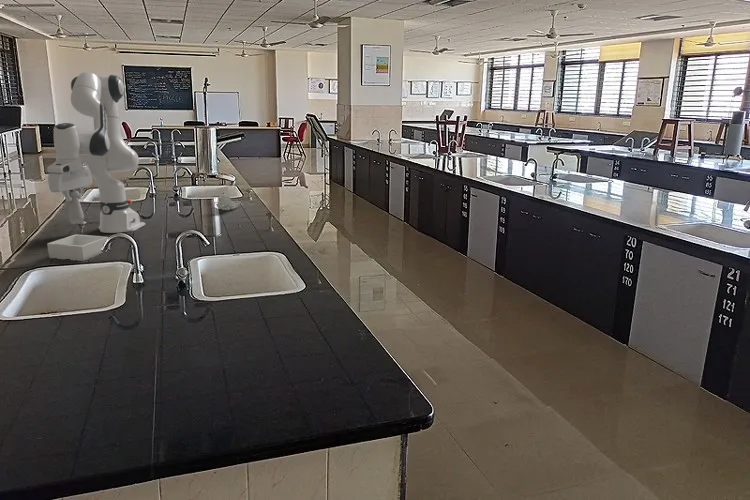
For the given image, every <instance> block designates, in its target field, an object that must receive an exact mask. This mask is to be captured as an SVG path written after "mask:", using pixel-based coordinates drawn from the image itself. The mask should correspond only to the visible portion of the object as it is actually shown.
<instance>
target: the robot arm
mask: <svg viewBox="0 0 750 500" xmlns="http://www.w3.org/2000/svg"><path fill="white" fill-rule="evenodd" d="M124 85H125V84H124V83H123V80H122V78H121V77H120V76H118V75H114V74H110V75H109V74H96V73H93V72H90V71H84V72H81V73H80V74H79V75H77V76H75V77H74V78H72V79H71V82H70V88H71V94H70V102H71V105H72V107H73V108H74V109H75V110H76V111H77V112H78V113H80V114H82V115H84V116H86V117H90V118H93V130H77V127H76V125H75V124H74V123H71V122H70V123H69V122H63V123H62V122H61V123H58V124H55V125H54V127H53V144H54V147H53V148H54V149H55V152H56V155H55V161H54V162H53V163H52V164H50V165H49V166H47V167H46V171H47V173H48V176H47V178H48V179H47V181H48V188H49V190H50V192H51V193H57V194H59V193H62V195H63V196H64V198H65V202H68V203H69V202H70V201H72V197H70V195H69V194H68V193H69V191H74V190H75V191H78V192H79V197H78V199H79V200H81V199H82V194H83V191H84V188H85V187H89V186H92V185H93V179H94V181H95V182H96V184H97V187H98V193H99V198H100V201H99V207H100V210H101V211H100V212H99V226H98V230H99V231H100V232H101V233H104V234H105V233H106V234H108V233H109V234H114V233H115V234H117V233H126V232H127V233H128V232H135V231H137V230H138V229H140V228H142V227H143V226H146V223H145V222H143V221H141V220H140V215H139V213H138V212H136V211H135V210H133V209H132V208H131V207H130V206H129V205H132V203H133V201H132V199H126V198H127V197H126V188H125V187H126V186H125V184H124V183H123V182H122V181H121V180H119V179H116V178H114V177H112V176H111V174H110V173H121V172H122V173H125V172H130V171H135V170H136V169H137V168H138V166H139V162H140V159H139V158H140V157H139V156H138V153H137V152H136V150H134V149H133V148H131V147H130V146H129V145H128V144H127V143H126V142H125V140H124V138H123V136H122V130H121V123H120V112H119V111H120V110H119V107H118V106H119V105H118V103H119V101H120V100H121V99H122V97H123V96H124V94H125V86H124Z"/></svg>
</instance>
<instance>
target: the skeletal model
mask: <svg viewBox="0 0 750 500" xmlns="http://www.w3.org/2000/svg"><path fill="white" fill-rule="evenodd" d="M231 199H232V198H231V196H229V195H226V191H222V193H221V195H219V197H218V200H219V201H215V202H213V205H214V207H216V208H217V209H220V210H223V211H225V210H229V211H231V210H233V209H235V208H237V207H238V206H239V205H240V204H241V206H242V207H243V203H242V201H240V200H239V201H238V200H236V201H232V200H231Z"/></svg>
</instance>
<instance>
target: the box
mask: <svg viewBox="0 0 750 500" xmlns="http://www.w3.org/2000/svg"><path fill="white" fill-rule="evenodd" d="M108 238H109V239H110V237H109V236H101V235H90V234H89V235H88V234H77V233H76V234H73V235H69V236H67V237H64V238H59V239H57V240H54V241H51V242H47V243H46V244H47V251H48V259H54V258H57V259H58V260H65V259H70V260H69V261H76V260H77V261H78V262H86V261H87V260H90V258H91V259H93V258H95V257H99V256H100V255H99V254H101V253H103V252H102V251H101V248H102V246H103V244H104V243H105V241H106V240H107V239H108ZM108 249H109V250H110V251H111V245H109V248H108ZM103 254H104V253H103ZM101 255H102V254H101ZM85 260H86V261H85Z"/></svg>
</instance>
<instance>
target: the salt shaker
mask: <svg viewBox="0 0 750 500" xmlns="http://www.w3.org/2000/svg"><path fill="white" fill-rule="evenodd" d="M68 194H69V195H70V197H72V201H70V202H68V213H67V214H68V215H67V219H68V220H69V222H70V224H72V225H73V224H74V225H78V224H82V223H83V221H84V219H85V214H84V211H83V209H82V205H81V202H80V199H78V197H79V192H78V191H77V190H69V193H68Z"/></svg>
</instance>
